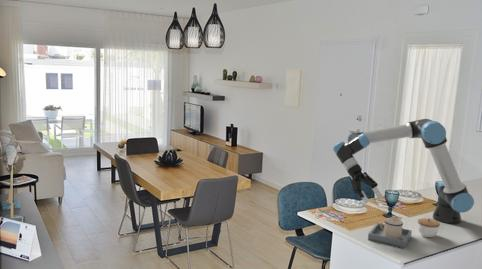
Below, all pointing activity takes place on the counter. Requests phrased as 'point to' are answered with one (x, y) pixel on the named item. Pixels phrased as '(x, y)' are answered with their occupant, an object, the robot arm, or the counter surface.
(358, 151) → the robot arm
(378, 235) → the tray
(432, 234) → the lidded jar
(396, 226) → the teacup with lid
